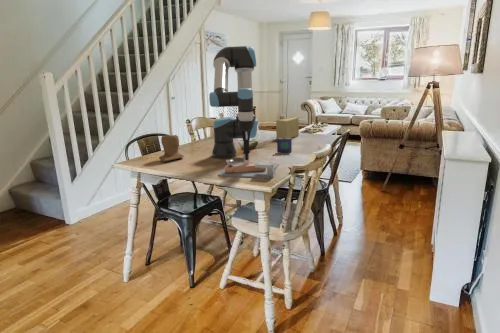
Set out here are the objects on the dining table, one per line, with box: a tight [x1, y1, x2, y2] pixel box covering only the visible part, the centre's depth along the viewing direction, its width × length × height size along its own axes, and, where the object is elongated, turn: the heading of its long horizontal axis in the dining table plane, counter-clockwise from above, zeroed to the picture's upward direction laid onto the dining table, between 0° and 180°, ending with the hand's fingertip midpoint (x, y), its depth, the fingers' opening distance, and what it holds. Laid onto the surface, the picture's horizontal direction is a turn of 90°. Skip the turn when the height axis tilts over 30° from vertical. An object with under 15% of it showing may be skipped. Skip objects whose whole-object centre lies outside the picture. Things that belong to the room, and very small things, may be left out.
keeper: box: [255, 159, 276, 178], centre depth 169 cm, size 9×8×6 cm
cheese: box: [275, 116, 300, 140], centre depth 265 cm, size 22×10×15 cm, turn 137°
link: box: [224, 164, 266, 173], centre depth 175 cm, size 21×5×3 cm, turn 100°
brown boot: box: [158, 134, 185, 163], centre depth 204 cm, size 15×12×15 cm
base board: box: [217, 161, 280, 180], centre depth 180 cm, size 26×26×1 cm
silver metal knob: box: [225, 158, 235, 166], centre depth 173 cm, size 4×4×3 cm
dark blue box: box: [276, 136, 293, 154], centre depth 216 cm, size 9×3×11 cm, turn 95°
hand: (246, 165), depth 178 cm, fingers closed
